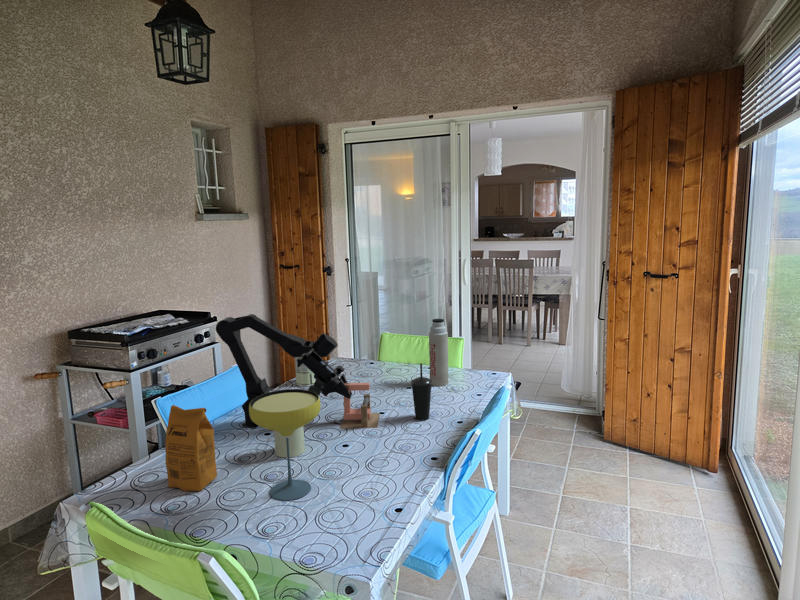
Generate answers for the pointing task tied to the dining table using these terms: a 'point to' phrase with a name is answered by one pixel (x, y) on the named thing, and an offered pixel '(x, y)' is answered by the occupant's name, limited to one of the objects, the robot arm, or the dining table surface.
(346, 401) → the c link
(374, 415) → the stand
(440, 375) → the thermos bottle
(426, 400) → the drinking cup
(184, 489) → the coffee package
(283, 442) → the can
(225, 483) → the dining table surface
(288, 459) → the cocktail glass
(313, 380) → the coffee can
